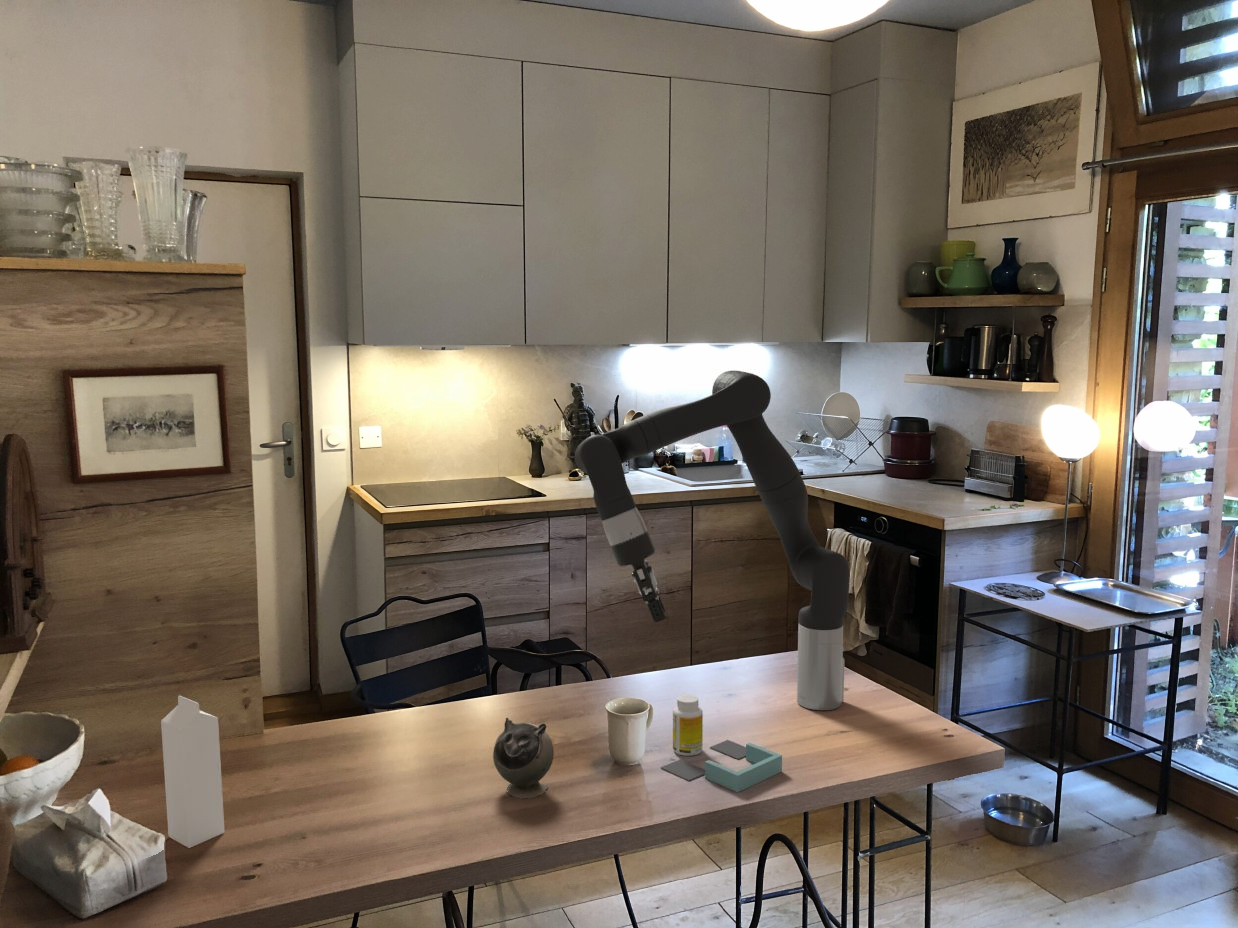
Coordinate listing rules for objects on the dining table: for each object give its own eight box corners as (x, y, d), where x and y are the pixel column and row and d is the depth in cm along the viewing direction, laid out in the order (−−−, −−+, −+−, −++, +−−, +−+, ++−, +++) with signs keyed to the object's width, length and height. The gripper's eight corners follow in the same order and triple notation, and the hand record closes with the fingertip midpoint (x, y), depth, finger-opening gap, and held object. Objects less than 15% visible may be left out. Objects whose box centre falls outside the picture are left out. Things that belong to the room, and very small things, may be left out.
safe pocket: (749, 758, 178) (749, 742, 178) (781, 771, 172) (782, 755, 172) (704, 777, 170) (705, 761, 170) (737, 792, 164) (737, 775, 164)
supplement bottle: (708, 751, 181) (709, 698, 180) (686, 759, 177) (687, 706, 176) (688, 742, 185) (688, 690, 184) (666, 749, 182) (666, 697, 181)
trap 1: (680, 760, 177) (680, 759, 177) (708, 772, 172) (708, 771, 172) (660, 768, 174) (660, 767, 174) (688, 781, 169) (688, 779, 169)
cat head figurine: (490, 804, 161) (552, 802, 161) (487, 735, 160) (550, 733, 159) (499, 777, 171) (557, 775, 171) (495, 712, 170) (554, 710, 169)
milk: (204, 822, 155) (196, 689, 153) (225, 833, 152) (218, 697, 149) (167, 837, 150) (159, 700, 148) (188, 849, 147) (180, 708, 144)
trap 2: (727, 740, 186) (727, 739, 186) (755, 751, 181) (755, 750, 181) (709, 747, 183) (709, 746, 183) (738, 759, 177) (738, 758, 177)
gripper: (646, 531, 174) (679, 615, 174) (647, 526, 188) (678, 604, 188) (607, 547, 174) (641, 631, 174) (611, 541, 188) (642, 618, 188)
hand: (660, 617), depth 181 cm, fingers open, 8 cm apart
